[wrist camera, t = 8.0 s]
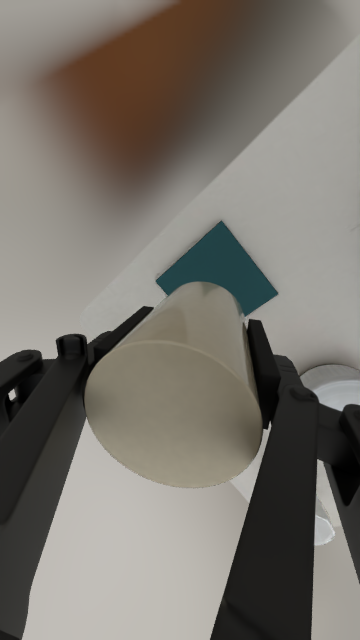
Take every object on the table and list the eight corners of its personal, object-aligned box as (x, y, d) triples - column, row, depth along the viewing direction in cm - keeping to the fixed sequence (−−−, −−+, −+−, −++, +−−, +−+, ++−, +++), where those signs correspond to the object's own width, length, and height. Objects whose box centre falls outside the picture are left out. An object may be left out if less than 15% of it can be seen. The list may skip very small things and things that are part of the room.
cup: (292, 448, 36) (308, 504, 28) (338, 486, 36) (365, 550, 29) (258, 467, 38) (265, 523, 31) (302, 502, 39) (318, 565, 32)
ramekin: (325, 437, 34) (341, 471, 29) (266, 392, 33) (272, 419, 28) (397, 392, 29) (430, 423, 24) (330, 340, 29) (351, 361, 24)
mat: (156, 280, 31) (155, 281, 30) (221, 220, 26) (221, 220, 26) (208, 340, 32) (207, 342, 32) (277, 292, 28) (278, 294, 27)
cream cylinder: (159, 277, 17) (73, 327, 8) (252, 286, 16) (283, 358, 6) (157, 355, 19) (90, 466, 10) (237, 368, 18) (245, 507, 9)
